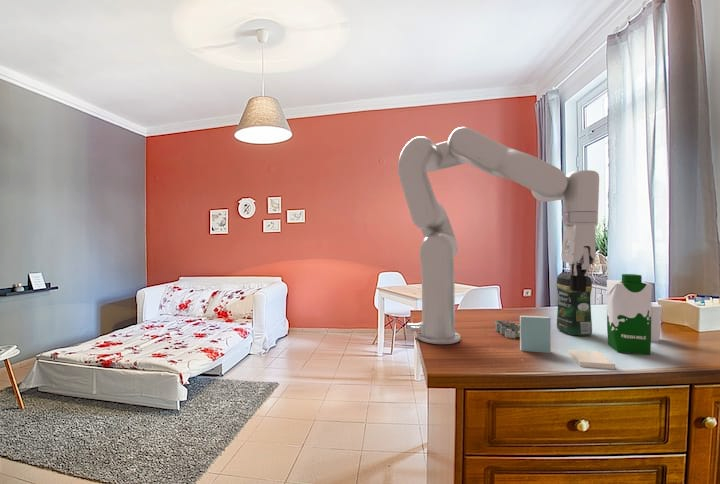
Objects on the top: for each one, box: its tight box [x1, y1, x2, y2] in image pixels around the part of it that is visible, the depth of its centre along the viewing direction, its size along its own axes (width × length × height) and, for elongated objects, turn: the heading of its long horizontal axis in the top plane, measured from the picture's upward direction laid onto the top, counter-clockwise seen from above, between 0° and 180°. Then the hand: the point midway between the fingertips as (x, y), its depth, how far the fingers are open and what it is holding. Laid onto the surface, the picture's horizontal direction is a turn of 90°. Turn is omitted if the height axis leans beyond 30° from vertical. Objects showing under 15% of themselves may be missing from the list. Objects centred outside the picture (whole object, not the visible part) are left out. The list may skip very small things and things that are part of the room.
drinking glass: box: [651, 302, 663, 343], centre depth 101 cm, size 7×7×10 cm
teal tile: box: [519, 315, 552, 354], centre depth 91 cm, size 7×2×9 cm, turn 76°
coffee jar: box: [556, 272, 593, 337], centre depth 108 cm, size 10×8×19 cm
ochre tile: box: [567, 349, 616, 370], centre depth 83 cm, size 7×2×9 cm
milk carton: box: [606, 273, 653, 356], centre depth 91 cm, size 9×9×20 cm
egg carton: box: [493, 319, 520, 339], centre depth 107 cm, size 10×7×4 cm
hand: (577, 290), depth 89 cm, fingers closed
